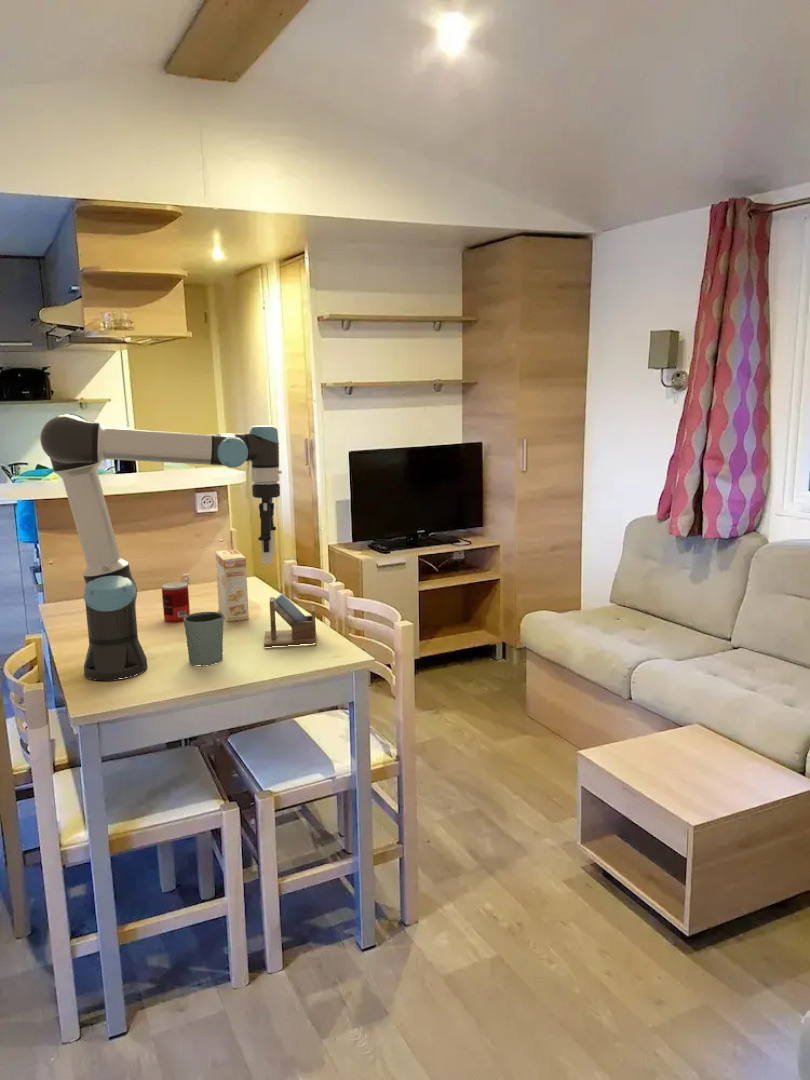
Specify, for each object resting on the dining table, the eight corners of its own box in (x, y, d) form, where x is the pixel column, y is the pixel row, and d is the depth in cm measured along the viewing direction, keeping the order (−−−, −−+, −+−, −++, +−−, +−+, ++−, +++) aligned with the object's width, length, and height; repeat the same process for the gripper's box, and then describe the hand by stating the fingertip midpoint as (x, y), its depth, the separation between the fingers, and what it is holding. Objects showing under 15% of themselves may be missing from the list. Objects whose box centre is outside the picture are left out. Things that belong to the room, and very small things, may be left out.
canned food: (193, 615, 254) (191, 581, 252) (184, 623, 246) (182, 588, 244) (170, 615, 255) (167, 581, 253) (160, 622, 247) (157, 587, 245)
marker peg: (312, 624, 227) (283, 593, 224) (304, 632, 226) (275, 601, 223) (311, 622, 230) (282, 592, 227) (302, 630, 229) (273, 600, 227)
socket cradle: (316, 645, 223) (314, 602, 221) (264, 648, 221) (262, 605, 219) (315, 632, 235) (313, 591, 232) (265, 635, 233) (263, 594, 231)
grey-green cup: (180, 666, 208) (177, 621, 206) (195, 653, 218) (192, 610, 216) (218, 667, 207) (215, 622, 205) (231, 654, 217) (229, 611, 214)
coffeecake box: (249, 619, 249) (246, 557, 246) (226, 622, 247) (222, 559, 243) (240, 607, 263) (236, 548, 259) (218, 610, 260) (214, 550, 257)
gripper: (277, 487, 210) (280, 567, 214) (281, 477, 234) (283, 549, 238) (248, 488, 209) (251, 568, 213) (255, 477, 234) (257, 549, 238)
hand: (268, 558), depth 226 cm, fingers open, 13 cm apart
